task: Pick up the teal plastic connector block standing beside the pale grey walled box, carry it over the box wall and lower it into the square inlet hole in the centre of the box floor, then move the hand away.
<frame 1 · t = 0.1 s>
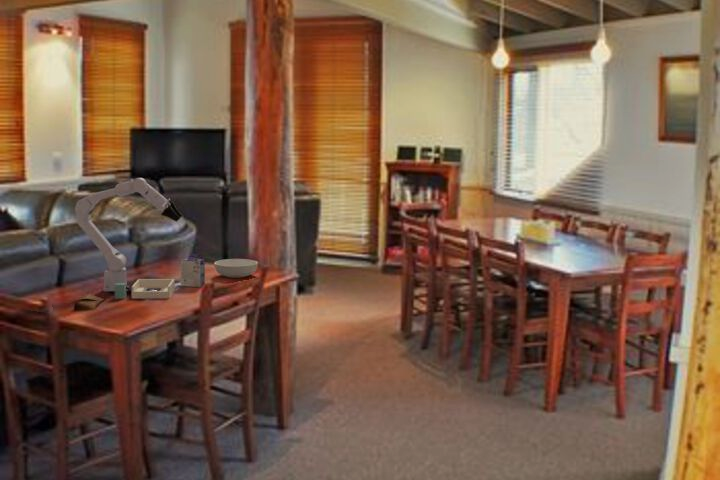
hand: (179, 218, 383), 32 cm above the table, tool tilted 50°, fingers open, 7 cm apart
walled box: (153, 294, 379), on the table
connector block: (120, 297, 372), on the table
sunglasses case: (90, 306, 359), on the table
serving bowl: (236, 276, 419), on the table
ink cartridge box: (193, 286, 397), on the table
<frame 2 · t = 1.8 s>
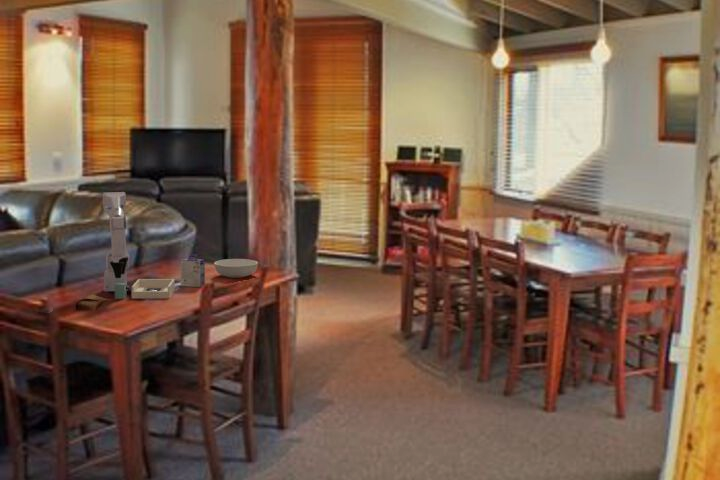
hand: (120, 276, 371), 9 cm above the table, tool pointing down, fingers open, 7 cm apart
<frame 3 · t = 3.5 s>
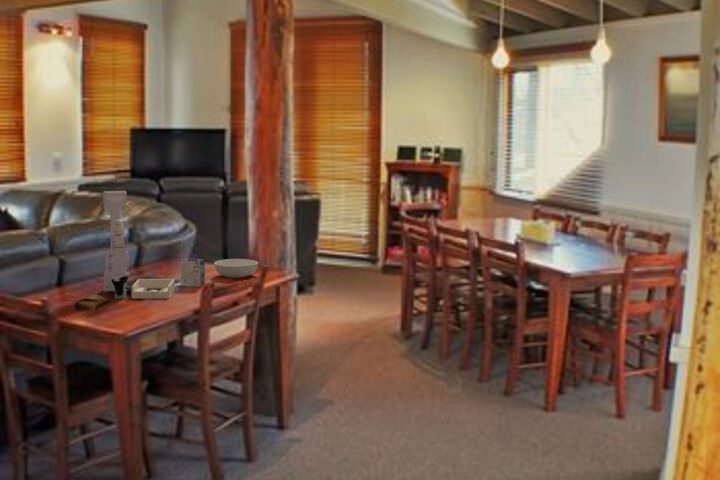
hand: (120, 294, 372), 1 cm above the table, tool pointing down, fingers closed on connector block, 4 cm apart
connector block: (120, 297, 372), on the table, touching gripper
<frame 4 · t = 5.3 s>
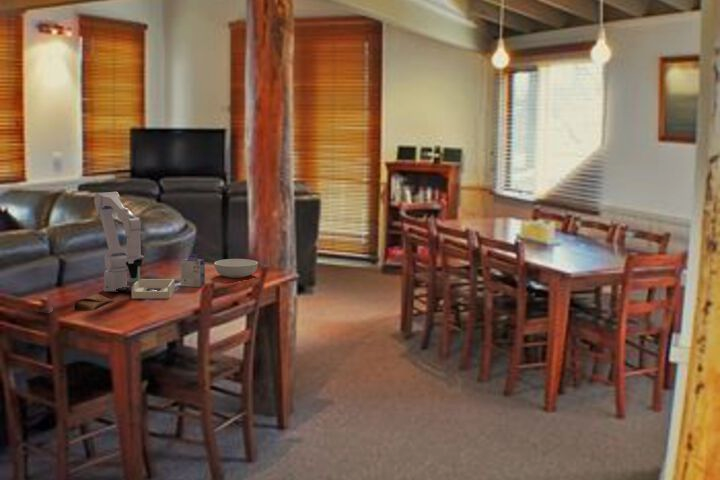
hand: (134, 276, 374), 8 cm above the table, tool pointing down, fingers closed on connector block, 4 cm apart
connector block: (134, 280, 374), point 7 cm above the table, touching gripper
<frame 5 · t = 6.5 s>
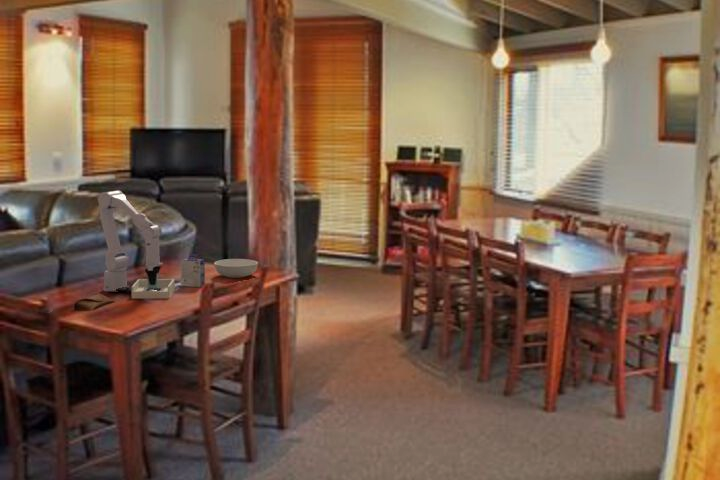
hand: (153, 283, 378), 5 cm above the table, tool pointing down, fingers closed on connector block, 4 cm apart
connector block: (153, 287, 378), point 3 cm above the table, touching gripper
when the fingers open (3 cm above the table, at t = 7.2 s): connector block drops 1 cm, resting in walled box.
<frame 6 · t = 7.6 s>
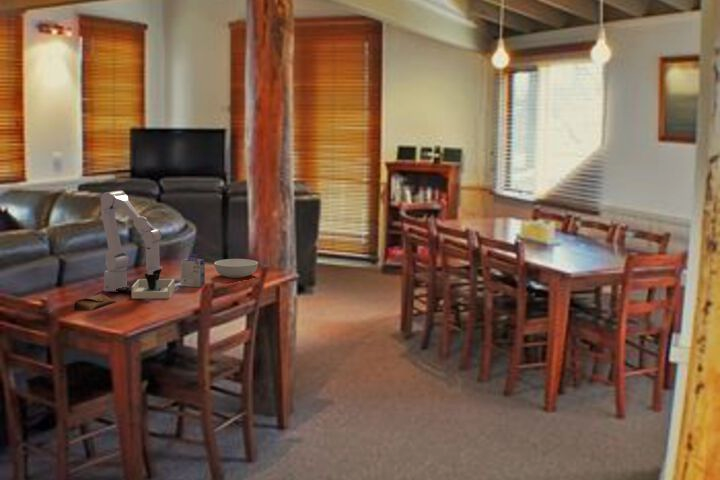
hand: (153, 287, 379), 3 cm above the table, tool pointing down, fingers open, 7 cm apart
connector block: (153, 294, 379), resting in walled box
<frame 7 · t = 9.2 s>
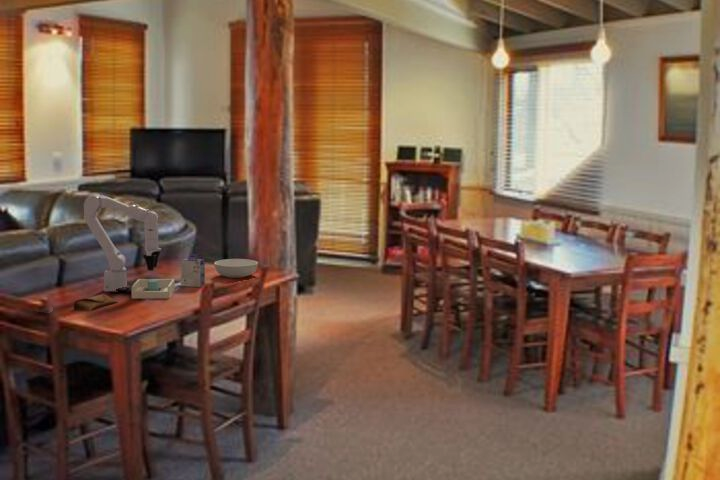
hand: (152, 268, 387), 9 cm above the table, tool pointing down, fingers open, 7 cm apart
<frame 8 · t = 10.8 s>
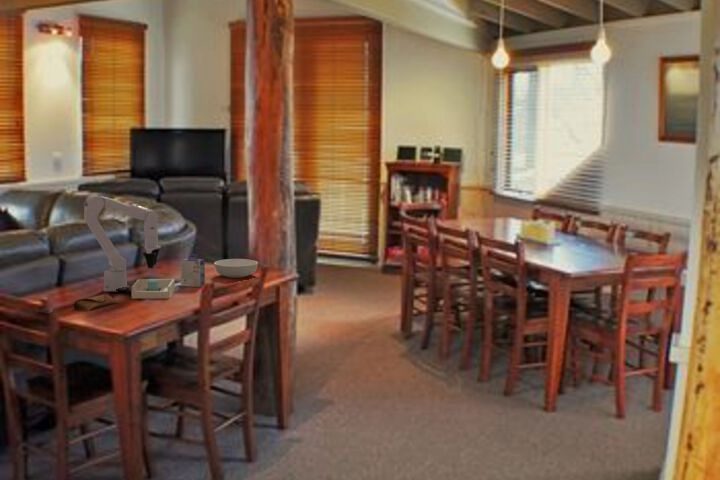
hand: (152, 266, 392), 9 cm above the table, tool pointing down, fingers open, 7 cm apart
at the end: connector block 0.2 cm off-centre on the walled box, point 0.0 cm above the walled box's base; connector block tilted 0°; the gripper is holding nothing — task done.
